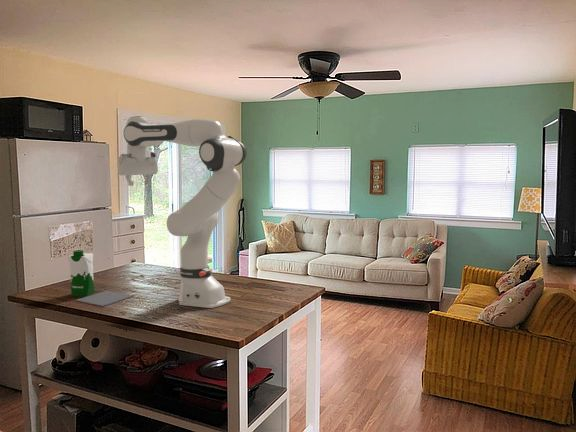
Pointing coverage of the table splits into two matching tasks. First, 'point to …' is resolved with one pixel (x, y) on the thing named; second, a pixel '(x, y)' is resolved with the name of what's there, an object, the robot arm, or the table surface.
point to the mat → (104, 298)
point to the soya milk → (81, 273)
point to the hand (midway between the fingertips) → (139, 185)
